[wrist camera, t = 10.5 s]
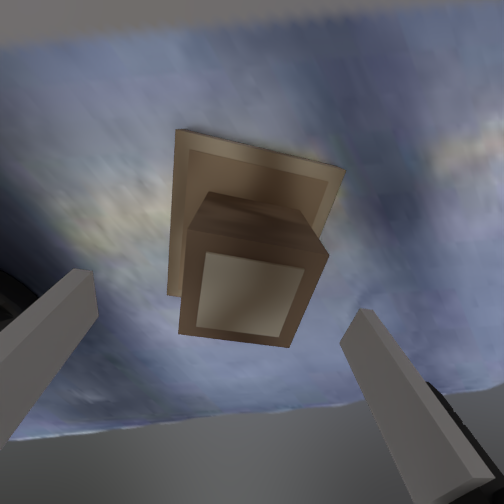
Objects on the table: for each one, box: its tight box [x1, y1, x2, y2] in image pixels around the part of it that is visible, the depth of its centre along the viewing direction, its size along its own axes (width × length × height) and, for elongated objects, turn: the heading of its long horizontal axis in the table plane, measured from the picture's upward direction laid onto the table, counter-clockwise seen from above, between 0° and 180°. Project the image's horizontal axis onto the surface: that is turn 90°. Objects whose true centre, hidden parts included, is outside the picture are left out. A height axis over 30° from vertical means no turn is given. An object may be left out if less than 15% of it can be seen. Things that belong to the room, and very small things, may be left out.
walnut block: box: [178, 191, 329, 348], centre depth 15 cm, size 7×7×7 cm
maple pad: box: [167, 129, 346, 297], centre depth 20 cm, size 12×14×2 cm
